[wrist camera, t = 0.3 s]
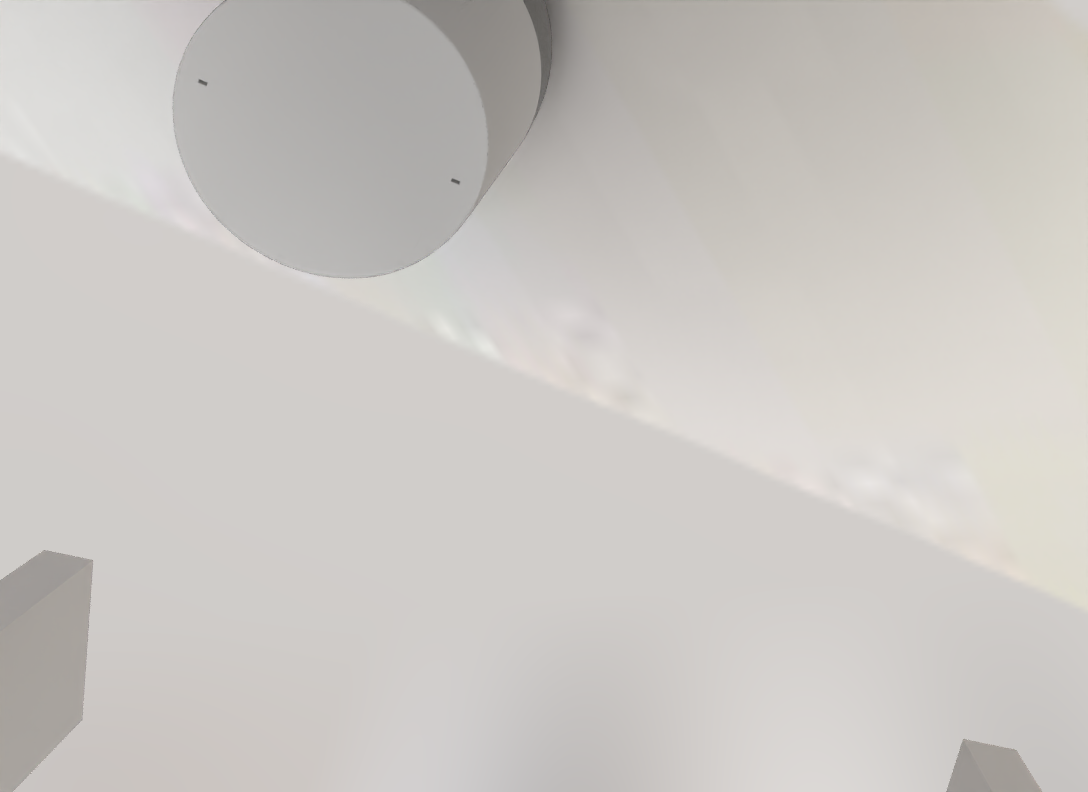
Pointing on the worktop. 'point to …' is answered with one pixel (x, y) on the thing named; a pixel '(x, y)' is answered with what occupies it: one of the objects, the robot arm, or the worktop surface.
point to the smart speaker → (356, 121)
